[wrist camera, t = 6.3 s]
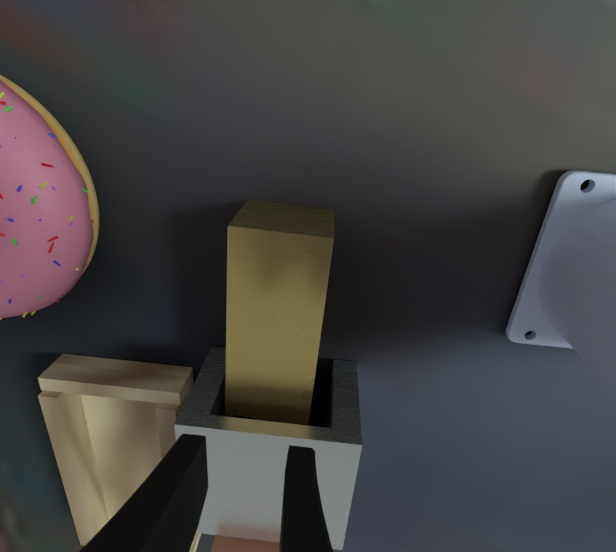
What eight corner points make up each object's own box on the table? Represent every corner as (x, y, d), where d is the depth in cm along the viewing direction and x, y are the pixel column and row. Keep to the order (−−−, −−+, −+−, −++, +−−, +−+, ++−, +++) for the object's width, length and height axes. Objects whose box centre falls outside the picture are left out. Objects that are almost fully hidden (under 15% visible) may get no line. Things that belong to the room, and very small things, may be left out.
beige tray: (192, 367, 22) (176, 398, 19) (202, 527, 28) (191, 565, 25) (62, 353, 22) (32, 383, 20) (101, 516, 28) (81, 552, 26)
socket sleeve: (356, 361, 21) (361, 445, 16) (341, 456, 24) (342, 550, 19) (211, 346, 21) (174, 424, 16) (215, 442, 24) (184, 531, 19)
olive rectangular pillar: (249, 198, 18) (227, 225, 14) (334, 208, 17) (334, 238, 14) (243, 361, 21) (225, 414, 18) (313, 370, 21) (308, 424, 18)
